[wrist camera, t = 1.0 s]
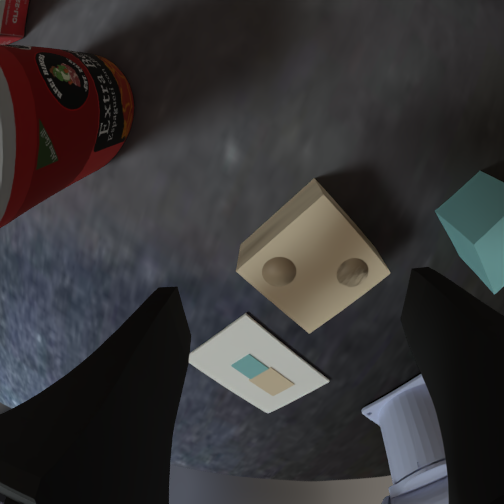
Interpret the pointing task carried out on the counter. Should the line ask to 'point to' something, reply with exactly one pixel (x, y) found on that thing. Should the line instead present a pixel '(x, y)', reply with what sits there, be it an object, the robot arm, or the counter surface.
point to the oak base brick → (310, 259)
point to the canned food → (56, 121)
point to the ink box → (12, 20)
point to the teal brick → (478, 227)
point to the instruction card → (256, 365)
